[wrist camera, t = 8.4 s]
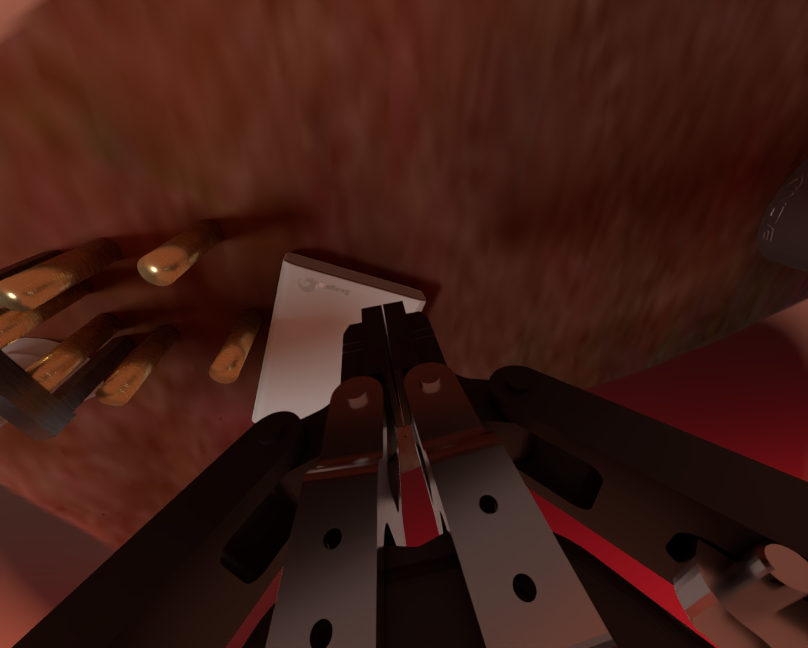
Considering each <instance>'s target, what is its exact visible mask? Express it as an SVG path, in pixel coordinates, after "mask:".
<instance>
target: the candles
mask: <svg viewBox="0 0 808 648" xmlns="http://www.w3.org/2000/svg"><path fill="white" fill-rule="evenodd" d="M221 239H222V231H221V229H220V228H219V226H218V225H217V224H215V223H214V222H212V221H209V220H202V221H199V222H198V223H196V224H195V225H193V226H191V227H190V228H188V229H187V230H185V231H183V232H182V233H180V234H179V235H177V236H175V237H174V238H172V239H171V240H169V241H167V242H166V243H164V244H163V245H161V246H159V247H158V248H156V249H155V250H153V251H151V252H150V253H148V254H147V255H145V256H143V257H142V258H141V259H139V261H138V263H137V268H138V271H139V273H140V275H141V276H142V277H143V278H144V279H145V280H147V281H148V282H150V283H152V284H154V285H158V286H167V285H170V284H172V283H173V282H174V281H175V280H176V279H178V278H179V277H180V276H181V275H182V274H183V273H184V272H185V271H187V270H188V269H189V268H190V267H191V266H192V265H193V264H195V263H196V262H197V261H198V260H199V259H200V258H201V257H202V256H204V255H205V254H206V253H207V252H208V251H209V250H210V249H212V248H213V247H214V246H215V245H216V244H217V243H218V242H219V241H220V240H221ZM120 258H121V251H120V249H119V248H118V246H117V245H115V244H114V243H113V242H111V241H109V240H107V239H102V238H98V239H95V240H93V241H90V242H88V243H86V244H83V245H81V246H79V247H77V248H74V249H72V250H70V251H67V252H65V253H63V254H61V253H60V252H59V251H58V250H56V251H50V252H44V253H40V254H37V255H35V256H32V257H30V258H27V259H25V260H22V261H20V262H17V263H15V264H12V265H10V266H7V267H5V268H3V269H0V305H2V306H4V307H3V308H1V309H0V416H1V417H3V418H4V419H6V420H7V421H8V422H10V423H11V424H12V425H14V426H15V427H17V428H18V429H19V430H21V431H22V432H23V433H25V434H26V435H28V436H29V437H30V438H32V439H33V440H34V441H38V440H43V439H48V438H53V437H55V436H56V435H57V434H58V433H59V432H60V431H61V430H62V429H63V428H64V427H65V426H66V425H67V424H68V423H69V422H70V421H71V420H72V418H73V417H74V416H75V414H74V413H73V411H74V410H75V409H76V408H77V407H78V406H79V405H80V404H81V403H82V402H83V401H84V400H85V399H86V398H87V397H88V396H89V395H90V394H91V393H92V392H93V391H94V389H95V388H96V387H97V386H98V385H99V384H100V383H101V382H102V381H103V380H104V379H105V378H106V377H107V376H108V375H109V374H110V373H111V372H112V371H113V370H114V369H115V368H116V367H117V366H118V365H119V364H120V363H121V362H122V361H123V360H124V359H125V358H126V356H127V355H128V354H129V353H130V352H131V351H132V350H133V349H134V348H135V347H136V345H135V344H134V343H133V342H132V341H131V339H130V338H129V337H128V336H124V337H118V338H113V339H112V340H111V341H110V342H109V343H108V344H107V345H105V346H104V347H103V348H102V349H101V350H100V351H99V352H98V353H97V354H95V355H94V356H93V357H92V358H91V359H90V360H89V361H88V362H87V363H85V364H84V365H83V366H82V367H81V368H80V369H79V370H78V371H76V372H75V373H74V374H73V375H72V376H71V377H70V378H69V379H68V380H66V381H65V382H64V383H63V384H62V385H61V386H60V387H59V388H57V389H56V390H55V391H54V392H53V393H52V394H51V393H50V391H51V390H52V389H53V388H55V387H56V386H57V385H58V384H59V383H60V382H61V381H62V380H64V379H65V378H66V377H67V376H68V375H69V374H70V373H71V372H73V371H74V370H75V369H76V368H77V367H78V366H79V365H81V364H82V363H83V362H84V361H85V360H86V359H87V358H88V357H90V356H91V355H92V354H93V353H94V352H95V351H96V350H98V349H99V348H100V347H101V346H102V345H103V344H104V343H105V342H107V341H108V340H109V339H110V338H111V337H112V336H113V335H114V334H116V333H117V332H118V331H119V330H120V329H121V327H122V324H121V322H120V321H119V320H118V319H117V318H116V317H114V316H112V315H109V314H99V315H97V316H96V317H95V318H93V319H92V320H91V321H89V322H88V323H87V324H85V325H84V326H83V327H81V328H80V329H79V330H77V331H76V332H75V333H73V334H72V335H71V336H69V337H68V338H67V339H65V340H64V341H63V342H61V343H60V344H59V345H57V346H56V347H55V348H53V349H52V350H51V351H49V352H48V353H47V354H45V355H44V356H43V357H41V358H40V359H39V360H37V361H36V362H35V363H33V364H32V365H31V366H29V367H28V368H27V369H25V370H24V369H23V368H21V367H20V366H19V365H18V364H17V363H16V362H15V361H13V360H12V359H11V358H10V357H9V356H8V355H7V354H5V353H4V352H3V351H2V350H1V349H3V348H4V347H6V346H7V345H9V344H11V343H12V342H14V341H15V340H17V339H18V338H20V337H22V336H23V335H25V334H26V333H28V332H29V331H31V330H33V329H34V328H36V327H37V326H39V325H40V324H42V323H44V322H45V321H47V320H48V319H50V318H51V317H53V316H55V315H56V314H58V313H59V312H61V311H62V310H64V309H66V308H67V307H69V306H70V305H72V304H73V303H75V302H76V301H78V300H80V299H81V298H83V297H84V296H86V295H87V294H89V293H90V292H91V285H90V283H89V282H88V281H87V280H86V279H87V278H88V277H90V276H92V275H93V274H95V273H97V272H99V271H100V270H102V269H104V268H106V267H107V266H109V265H111V264H113V263H114V262H116V261H118V260H119V259H120ZM262 320H263V318H262V315H261V314H260V313H259V312H258V311H256V310H253V309H247V310H244V311H243V312H242V313H241V315H240V317H239V319H238V320H237V322H236V324H235V326H234V327H233V329H232V331H231V333H230V334H229V336H228V338H227V340H226V341H225V343H224V345H223V347H222V348H221V350H220V352H219V354H218V355H217V357H216V359H215V361H214V362H213V364H212V366H211V368H210V370H209V375H210V377H211V378H212V379H213V380H215V381H217V382H219V383H232V382H234V381H235V380H236V379H237V377H238V375H239V373H240V370H241V368H242V366H243V364H244V361H245V359H246V357H247V355H248V352H249V350H250V348H251V345H252V343H253V341H254V339H255V336H256V334H257V332H258V330H259V327H260V325H261V323H262ZM178 337H179V336H178V333H177V332H176V330H174V329H173V328H171V327H168V326H159V327H157V328H156V329H155V330H154V331H153V332H152V333H151V334H150V335H149V336H148V337H147V339H146V340H145V341H144V342H143V343H142V344H141V345H140V346H139V347H138V348H137V349H136V350H135V351H134V352H133V353H132V354H131V355H130V356H129V357H128V358H127V359H126V360H125V362H124V363H123V364H122V365H121V366H120V367H119V368H118V369H117V370H116V371H115V372H114V373H113V374H112V375H111V376H110V377H109V378H108V379H107V380H106V381H105V382H104V383H103V385H102V386H101V387H100V388H99V389H98V390H97V391H96V393H95V395H96V398H97V399H98V400H99V401H101V402H102V403H104V404H107V405H111V406H121V405H124V404H126V403H127V402H128V400H129V399H130V398H131V397H132V395H133V394H134V393H135V392H136V390H137V389H138V388H139V387H140V385H141V384H142V383H143V382H144V380H145V379H146V378H147V377H148V376H149V374H150V373H151V372H152V371H153V369H154V368H155V367H156V366H157V364H158V363H159V362H160V361H161V359H162V358H163V357H164V356H165V354H166V353H167V352H168V351H169V349H170V348H171V347H172V346H173V344H174V343H175V342H176V341H177V339H178Z"/></svg>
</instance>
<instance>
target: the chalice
mask: <svg viewBox="0 0 808 648" xmlns="http://www.w3.org/2000/svg"><path fill="white" fill-rule="evenodd" d="M59 344H60V343H58V342H55V341H51V340H47V339H40V338H27V337H26V338H19V339H17V340H15V341H14V342H12V343H11V344H9V345H7V346H6V347H4V348H3V349H1V350H2V351H3V352H4V353H5V354H7V355H8V356H9V357H10V358H11V359H12V360H13V361H15V362H16V363H17V364H18V365H19V366H20V367H21V368H23V369H24V370H25V369H27V368H28V367H29V366H31V365H32V364H33V363H35V362H36V361H37V360H39V359H40V358H41V357H43V356H44V355H45V354H47V353H48V352H49V351H51V350H52V349H53V348H55V347H56V346H57V345H59ZM89 360H90V358H87V359H86V360H85V361H84V362H83V363H82V364H81V365H79V366H78V367H77V368H76V369H75V370H74V371H73V372H71V373H70V374H69V375H68V376H67V377H66V378H65V379H64V380H62V381H61V382H60V383H59V384H58V385H57V386H56V387H55V388H53V389H52V390H51V391H50V393H51V394H52V393H53V392H54V391H55V390H56V389H57V388H59V387H60V386H61V385H62V384H63V383H64V382H65V381H66V380H68V379H69V378H70V377H71V376H72V375H73V374H74V373H75V372H76V371H78V370H79V369H80V368H81V367H82V366H83V365H84V364H85V363H87V362H88V361H89ZM103 383H104V380H103V381H102V382H101V383H100V384H99V385H98V386H97V387H96V388H95V389H94V391H93V392H92V393H91V394H90V395H89V396H88V397H87V398H86V399H85V400H87V399H89V398H91V397H93V396H95V393H96V391H97V390H98V389H99V388H100V387H101V386H102V385H103ZM7 422H8V421H7V420H6V419H4V418H3V417H1V416H0V426H2V425H4V424H5V423H7Z"/></svg>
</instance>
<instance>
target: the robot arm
mask: <svg viewBox="0 0 808 648" xmlns="http://www.w3.org/2000/svg"><path fill="white" fill-rule="evenodd" d="M757 243H758V249H759V251H760V253H761V255H762V256H763V257H764V258H766V259H767V260H770V261H773V262H777V263H780V264H783V265H786V266H789V267H792V268H796V269H799V270H802V271H805V272H808V157H807V158H806V159H805V160H804V161H803V162H802V163H801V164H800V165H799V166H798V167H797V168H796V169H795V170H794V172H793V173H792V174H791V175H790V176H789V177H788V178H787V180H786V181H785V182H784V183H783V185H782V186H781V188H780V189H779V190H778V192H777V193H776V195H775V196H774V198H773V199H772V201H771V203H770V204H769V206H768V208H767V210H766V212H765V214H764V216H763V218H762V221H761V224H760V227H759V231H758V238H757ZM383 308H384V315H385V320H384V315H383V310H382V306H381V305H378V306H372V307H367V308H362V309H361V313H362V322H361V323H356V324H351V325H349V326H348V328H347V329H346V331H345V332H344V334H343V347H342V353H343V354H342V365H341V382H340V385H339V386H338V387H337V388H336V389H335V390H334V392H333V393H332V395H331V399H330V403H329V404H328V405H327V406H326V407H324V408H323V409H321V410H319V411H317V412H315V413H313V414H311V415H309V416H306V417H304V418H302V419H300V418H299V417H298V416H297V415H296V414H295V413H293V412H289V411H280V412H275V413H272V414H270V415H267V416H265V417H264V418H262V419H260V420H259V421H258V422H256V423H255V424H254V425H253V426H252V427H251V428H250V429H249V430H248V431H246V432H245V433H244V434H243V435H242V436H241V437H240V438H239V439H238V440H237V441H236V442H234V443H233V444H232V445H231V446H230V447H229V448H228V449H227V450H226V451H225V452H224V453H223V454H221V455H220V456H219V457H218V458H217V459H216V460H215V461H214V462H213V463H212V464H211V465H210V466H208V467H207V468H206V469H205V470H204V471H203V472H202V473H201V474H200V475H199V476H198V477H196V478H195V479H194V480H193V481H192V482H191V483H190V484H189V485H188V486H187V487H186V488H185V489H183V490H182V491H181V492H180V493H179V494H178V495H177V496H176V497H175V498H174V499H173V500H172V501H170V502H169V503H168V504H167V505H166V506H165V507H164V508H163V509H162V510H161V511H160V512H158V513H157V514H156V515H155V516H154V517H153V518H152V519H151V520H150V521H149V522H148V523H147V524H145V525H144V526H143V527H142V528H141V529H140V530H139V531H138V532H137V533H136V534H135V535H134V536H132V537H131V538H130V539H129V540H128V541H127V542H126V543H125V544H124V545H123V546H122V547H120V548H119V549H118V550H117V551H116V552H115V553H114V554H113V555H112V556H111V557H110V558H109V559H108V560H106V561H105V562H104V563H103V564H102V565H101V566H100V567H99V568H98V569H97V570H96V571H94V572H93V573H92V574H91V575H90V576H89V577H88V578H87V579H86V580H85V581H84V582H82V584H80V585H79V586H78V587H77V588H76V589H75V590H74V591H73V592H72V593H71V594H69V595H68V596H67V597H66V598H65V599H64V600H63V601H62V602H61V603H60V604H59V605H57V606H56V607H55V608H54V609H53V610H52V611H51V612H50V613H49V614H48V615H47V616H46V617H44V618H43V619H42V620H41V621H40V622H39V623H38V624H37V625H36V626H35V627H34V628H33V629H31V630H30V631H29V632H28V633H27V634H26V635H25V636H24V637H23V638H22V639H21V640H20V641H19V642H17V643H16V644H15V645H14V646H13V647H12V648H225V647H226V646H227V644H228V643H229V642H230V640H231V639H232V637H233V636H234V635H235V633H236V632H237V630H238V629H239V627H240V626H241V625H242V623H243V622H244V620H245V619H246V618H247V616H248V614H249V613H250V612H251V611H252V609H253V608H254V606H255V605H256V603H257V602H258V601H259V599H260V598H261V596H262V595H263V594H264V592H265V591H266V589H267V588H268V586H269V585H270V584H271V582H272V581H273V579H274V578H275V577H276V575H277V574H278V572H279V571H280V569H281V568H282V567H283V571H282V575H281V580H280V584H279V589H278V593H277V598H276V602H275V603H274V604H273V605H272V606H271V607H270V609H269V610H268V611H267V612H266V614H265V615H264V616H263V618H262V619H261V620H260V621H259V623H258V624H257V626H256V627H255V629H254V630H253V632H252V633H251V635H250V636H249V638H248V639H247V641H246V643H245V644H244V645H243V647H242V648H715V647H714V646H713V645H711V644H710V643H709V642H707V641H706V640H705V639H703V638H702V637H701V636H699V635H698V634H697V633H695V632H694V631H693V630H691V629H690V628H689V627H687V626H686V625H685V624H683V623H682V622H681V621H679V620H678V619H677V618H676V617H674V616H673V615H671V614H670V613H669V612H668V611H666V610H665V609H664V608H662V607H661V606H660V605H658V604H657V603H656V602H654V601H653V600H652V599H650V598H649V597H648V596H646V595H645V594H643V593H642V592H641V591H640V590H638V589H637V588H636V587H634V586H633V585H632V584H631V583H629V582H628V581H627V580H625V579H624V578H623V577H621V576H620V575H619V574H617V573H616V572H615V571H613V570H612V569H611V568H609V567H608V566H607V565H605V564H604V563H603V562H601V561H600V560H599V559H597V558H596V557H595V556H593V555H592V554H591V553H589V552H588V551H587V550H585V549H584V548H582V547H581V546H579V545H577V544H576V543H574V542H572V541H571V540H569V539H567V538H565V537H563V536H561V535H558V534H556V533H554V532H552V531H551V529H550V527H549V526H548V524H547V522H546V520H545V518H544V517H543V515H542V513H541V511H540V509H539V508H538V506H537V504H536V502H535V501H534V499H533V497H532V495H531V493H530V492H529V490H528V488H529V489H531V490H532V491H534V492H535V493H537V494H538V495H540V496H541V497H543V498H544V499H546V500H547V501H549V502H550V503H552V504H554V505H555V506H556V507H558V508H559V509H561V510H562V511H564V512H565V513H567V514H568V515H570V516H571V517H573V518H574V519H576V520H577V521H579V522H580V523H582V524H583V525H585V526H586V527H588V528H589V529H591V530H592V531H594V532H595V533H597V534H598V535H600V536H601V537H603V538H604V539H606V540H607V541H609V542H610V543H612V544H613V545H615V546H616V547H618V548H619V549H621V550H622V551H624V552H625V553H627V554H628V555H630V556H631V557H632V558H634V559H635V560H637V561H638V562H640V563H641V564H643V565H644V566H646V567H647V568H649V569H650V570H652V571H653V572H655V573H656V574H658V575H659V576H661V577H662V578H664V579H665V580H667V581H668V582H670V583H671V584H673V585H674V588H675V591H676V594H677V597H678V599H679V601H680V603H681V605H682V606H683V608H684V610H685V612H686V613H687V616H688V617H689V619H690V621H691V623H692V624H693V625H694V626H695V627H696V628H697V629H698V630H699V631H700V632H701V633H702V634H704V635H705V636H706V637H707V638H708V639H710V640H711V641H712V642H713V643H714V644H716V645H717V646H718V647H719V648H808V482H806V481H804V480H801V479H799V478H797V477H794V476H792V475H789V474H787V473H784V472H782V471H779V470H777V469H775V468H772V467H770V466H767V465H765V464H762V463H760V462H757V461H755V460H753V459H750V458H748V457H745V456H743V455H740V454H738V453H736V452H733V451H731V450H728V449H726V448H723V447H721V446H718V445H716V444H713V443H711V442H709V441H706V440H704V439H701V438H699V437H697V436H694V435H692V434H689V433H687V432H684V431H682V430H679V429H677V428H675V427H672V426H670V425H667V424H665V423H662V422H660V421H658V420H655V419H653V418H650V417H648V416H645V415H643V414H640V413H638V412H635V411H633V410H631V409H628V408H626V407H623V406H621V405H618V404H616V403H614V402H611V401H609V400H606V399H604V398H601V397H599V396H597V395H594V394H592V393H589V392H587V391H584V390H582V389H579V388H577V387H575V386H572V385H570V384H567V383H565V382H562V381H560V380H558V379H555V378H553V377H550V376H548V375H545V374H543V373H540V372H538V371H536V370H533V369H531V368H528V367H524V366H506V367H502V368H500V369H498V370H496V371H495V372H494V373H493V374H492V376H491V377H490V380H480V379H469V378H464V377H461V376H459V375H457V374H455V373H454V372H453V371H452V370H451V369H450V368H449V367H448V366H447V365H446V363H445V360H444V358H443V355H442V352H441V350H440V347H439V345H438V342H437V340H436V337H435V335H434V332H433V329H432V327H431V324H430V322H429V319H428V317H426V316H425V315H424V314H422V313H421V312H420V311H418V312H412V313H407V314H406V312H405V308H404V304H403V301H398V302H393V303H388V304H383ZM385 321H386V324H385ZM386 327H387V329H386ZM387 333H388V334H387ZM396 384H397V385H396ZM397 389H398V391H397ZM398 394H399V397H398ZM399 398H400V403H401V408H402V412H403V417H404V421H405V426H406V425H412V430H413V435H414V440H415V445H416V450H417V453H418V457H419V460H420V464H421V467H422V471H423V474H424V478H425V482H426V485H427V489H428V493H429V496H430V499H431V503H432V507H433V510H434V514H435V518H436V522H437V527H438V531H439V536H437V537H436V538H434V539H432V540H430V541H429V542H427V543H425V544H423V545H421V546H418V547H406V543H405V535H404V529H403V521H402V507H401V487H400V468H399V452H398V437H397V429H396V428H397V427H402V426H403V422H402V415H401V409H400V403H399ZM527 487H528V488H527ZM283 565H284V566H283Z"/></svg>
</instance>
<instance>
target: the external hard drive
mask: <svg viewBox="0 0 808 648" xmlns="http://www.w3.org/2000/svg"><path fill="white" fill-rule="evenodd" d="M398 301H403V304H404V308H405V312H406V314H407V313H412V312H418V311H420V312H421V311H422V309H423V307H424V305H425V303H426V298H425V296H424V295H423V293H422V291H419V290H417V289H413V288H411V287H407V286H404V285H401V284H397V283H393V282H391V281H387V280H383V279H380V278H377V277H373V276H370V275H366V274H363V273H359V272H356V271H352V270H349V269H346V268H342V267H339V266H335V265H332V264H329V263H325V262H322V261H318V260H315V259H311V258H308V257H305V256H301V255H297V254H293V253H286V254H285V257H284V259H283V263H282V268H281V273H280V278H279V283H278V288H277V293H276V299H275V304H274V310H273V315H272V320H271V325H270V329H269V334H268V340H267V345H266V350H265V354H264V360H263V365H262V370H261V375H260V380H259V385H258V391H257V396H256V401H255V406H254V411H253V417H252V421H253V422H255V423H256V422H258V421H259V420H260V419H262V418H264V417H265V416H267V415H270V414H272V413H275V412H280V411H289V412H293V413H295V414H296V415H297V416H298V417H299V418H300V419H302V418H304V417H306V416H309V415H311V414H313V413H315V412H317V411H319V410H321V409H323V408H324V407H326V406H327V405H328V404H329V403H330V399H331V395H332V393H333V392H334V390H335V389H336V388H337V387H338V386H339V385H340V382H341V365H342V354H343V353H342V347H343V334H344V332H345V331H346V329H347V328H348V326H349V325H351V324H356V323H361V322H362V313H361V309H362V308H367V307H372V306H378V305H381V306H382V310H383V315H384V308H383V304H388V303H393V302H398ZM384 320H385V315H384ZM385 324H386V321H385ZM386 329H387V327H386ZM387 334H388V333H387Z"/></svg>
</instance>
